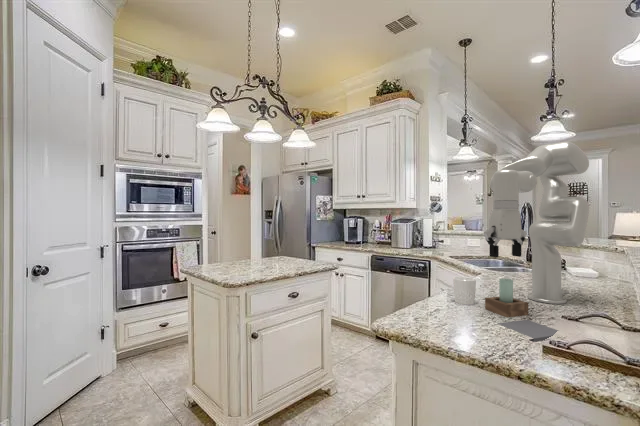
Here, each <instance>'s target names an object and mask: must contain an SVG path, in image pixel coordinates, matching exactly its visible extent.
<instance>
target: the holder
mask: <svg viewBox="0 0 640 426" xmlns="http://www.w3.org/2000/svg"><path fill="white" fill-rule="evenodd" d="M484 309H485V310H486V311H488V312H491V313H494V314H496V315H500V316H501V317H504V318H514V317H515V318H516V317H523V316H529V302H527V301H524V300H521V299H517V298H514V297H513V303H504V302H501V301H499V296H490V297H484Z"/></svg>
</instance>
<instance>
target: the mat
mask: <svg viewBox="0 0 640 426" xmlns="http://www.w3.org/2000/svg"><path fill="white" fill-rule="evenodd" d="M496 324H497V325H499V326H502V327H505V328H507V329H510V330H512V331H514V332H517V333H519V334H521V335H524V336H526V337H529V339H527V340H528V341H531V342H533V343H536V342H543V340H544V341H546V340H545V339H547V338H549V337H551V336H553V335H554V334H555V333H556V332H557V331H559V330H557V329H555V328H553V327H550V326H546V325H544V324H541V323H538V322H536V321H532V320H530V319H523V320H521V319H520V320H513V321H506V322H505V321H504V322H498V323H496Z"/></svg>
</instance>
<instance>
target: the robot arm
mask: <svg viewBox="0 0 640 426" xmlns="http://www.w3.org/2000/svg"><path fill="white" fill-rule="evenodd" d="M589 167H590V160H589V157H588V156H587V154H586V152H584V150H582V149H581V148H580V147H579V146H578V145H577V144H576V143H574V142H571V141H560V142H553V143H548V144H542V145H540V146H537V147H535V149H533V150H532V151H531V152H530V153H529V154H527V155H526V156H525V157H524V158H522V159H519V160H517V161H514V162H512V163H509V164H507V165H505V166H503V167H501V168H499V169H498V170H497V171H495V172H494V173H493V175H492V176H491V178H490V181H489V188H490V189H491V191H492V197H493V198H492V199H493V201H492V210H491V212H490V215H489V220H488V229H486V230H485V231H483V236H484V238H485V241H486V242H487V245H488V246H489V257H490V258H499V256H500V255H499V253H500V252H499V249H500V248H499V245H498V244H499V243H500V241H501V240H503V241H507V240H509V241H510V240H511V241H512V244H511V255H512V257H519V258H521V257H522V246H523V245H524V241H525V240H526V237H527V231H525V230H524V229H522V220H521V213H520V210H519V209H520V208H519V207H520V202H519V201H520V199H519V196H520V194H521V193H530V192H531V191H533V190H534V189H535V188H536V186H537V183H538V180H537V177H539V180H540V181H541V185H542V188H543V189H542V194H541V198H540V203H539V207H538V215H539V218H541V219H543V220H538V221H534V222H532V223H531V224H530V225H529V228H528V235H529V238H530V239H529V240H530V244H531V293H528V294H527V298H528V299H530V300H531V301H535V302H537V303H545V304H552V305H553V304H554V305H555V304H556V305H563V304H566V303H567V298H565V297H563V296H564V295H568V294H570V290H569V289H567V288H564V289H563V288H562V256H561V253H560V252H559V250H558V248H556V247H555V246H560V247H561V246H562V247H579V246H581V245H582V244H583V243H584V240H585V237H586V233H587V232H586V231H587V226H588V221H589V215H590V205H589V201H587V199H586V198H584V197H583V196H582V197H581V196H569V191H570V190H569V186H568V185H567V184H566V183H565V182H564V181H563V180H561V179H560V178H559V177H560V176H561V177H563V176H572V175H581V174H584V173H586V172H587V171H588V169H589Z"/></svg>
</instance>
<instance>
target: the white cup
mask: <svg viewBox="0 0 640 426" xmlns="http://www.w3.org/2000/svg"><path fill="white" fill-rule="evenodd" d="M452 280H453V281H452V282H453V297H454V302H455V303H456V304H459V305H466V306H467V305H470V306H471V305H474V304H475V302H476V300H475V299H476V290H477V289H476V285H477V279H476V278H475V277H471V276H453V278H452Z"/></svg>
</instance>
